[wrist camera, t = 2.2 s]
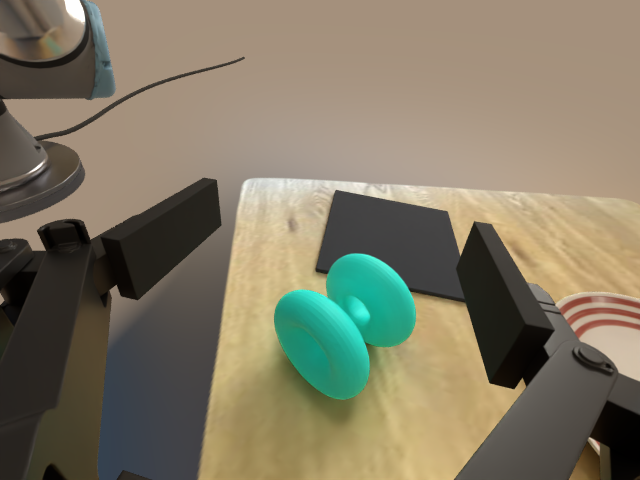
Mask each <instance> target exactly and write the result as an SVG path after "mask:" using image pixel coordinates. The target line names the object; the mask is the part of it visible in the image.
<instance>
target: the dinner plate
mask: <svg viewBox="0 0 640 480" xmlns="http://www.w3.org/2000/svg"><path fill="white" fill-rule="evenodd" d="M556 306H557V307H558V309H559V310H560V312H561V315H563V316H564V317H565V319H566V320H567V322H568V323H569V325H570V326H571V328H572V329H573V331H574V332H575V334H576V335H577V337H578V338H579V340H580V341H581V342H584V343H586V344H588V345H590V346H592V347H594V348H596V349H598V350H599V351H601V352H602V353H604V354H605V355H606V356H607V357H608V358H609V359H610V360H611V361H612V362H614V364H615V366H616V367H617V369H618V372H619V373H621V374H623V375H626V376H628V377H630V378H633V379H635V380H638V381H640V299H638V298H634V297H630V296H625V295H620V294H615V293H608V292H582V293H576V294H572V295H569V296H567V297H565V298H563V299H561V300H560V301H558V302H557V303H556ZM588 442H589V443H590V444H591V446H592V447H593V448H594V450H595V451H596V452H597V454H598V455H599V456H600V442H598V441H596V440H594V439H592V438H590V437H589V438H588Z"/></svg>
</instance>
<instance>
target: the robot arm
mask: <svg viewBox="0 0 640 480" xmlns="http://www.w3.org/2000/svg"><path fill="white" fill-rule="evenodd" d="M243 59H244V57H242V58H240V59H237V60H235V61H231V62H228V63H225V64H221V65H217V66H213V67H210V68H206V69H201V70H198V71H193V72H189V73H185V74H182V75H178V76H175V77H171V78H168V79H165V80H162V81H159V82H157V83H153V84H151V85H148V86H146V87H144V88H141V89H139V90H137V91H135V92H133V93H131V94H129V95H127V96H125V97H123V98H121V99H120V100H118V101H116V102H114V103H113V104H111V105H109V106H108V107H106V108H105V109H103V110H102V111H100V112H99V113H97V114H96V115H94V116H93V117H91V118H89V119H88V120H86V121H84V122H82V123H81V124H79V125H77V126H74V127H72V128H70V129H67V130H64V131H60V132H55V133H49V134H44V135H40V136H36V137H33V136H32V135H31V134H30V133H29V132H27V130H26V129H25V128H24V127H22V125H21V124H19V123H18V121H17V120H15V118H14V117H13V116H12V115H11V114H10V113H9V111H8V110H7V108H6V106H5V104H4V102H3V101H2V99H61V98H62V99H63V98H64V99H67V98H68V99H69V98H70V99H71V98H85V99H87V100H92V99H94V98H107V97H110V96H112V95H113V94H114V93H115V90H116V88H115V81H114V75H113V70H112V66H111V62H110V57H109V51H108V46H107V41H106V37H105V32H104V27H103V23H102V18H101V15H100V11H99V9H98V7H97V5H95V3H93V2H90V1H86V0H0V192H3V191H6V190H10V189H13V188H16V187H19V186H21V185H24V184H26V183H28V182H31V181H33V180H34V179H36V178H38V177H39V176H41V175H42V174H44V173H45V172H46V171H47V170H48V168H49V167H50V164H51V161H50V158H49V156H48V154H47V153H46V151H45V149H44V148H43V147H42V146H41V144H40V143H38V142H37V141H40V140H44V139H48V138H52V137H58V136H63V135H66V134H69V133H71V132H74V131H77V130H79V129H81V128H82V127H84V126H86V125H88V124H89V123H91V122H93V121H94V120H96V119H98V118H99V117H100V116H102V115H103V114H104V113H106V112H108V111H109V110H111V109H112V108H114V107H115V106H117V105H118V104H120V103H122V102H123V101H125V100H127V99H129V98H131V97H133V96H135V95H136V94H138V93H141V92H143V91H145V90H147V89H150V88H152V87H154V86H157V85H160V84H163V83H165V82H168V81H171V80H175V79H178V78H181V77H185V76H188V75H192V74H196V73H200V72H204V71H208V70H211V69H215V68H219V67H223V66H226V65H230V64H233V63H236V62H238V61H241V60H243ZM220 226H221V216H220V206H219V197H218V187H217V180H215V179H208V178H202V179H201V180H199V181H197V182H195V183H194V184H192V185H190V186H188V187H187V188H185V189H183V190H182V191H180V192H178V193H176V194H174V195H173V196H171V197H169V198H167V199H165V200H164V201H162V202H160V203H158V204H157V205H155V206H153V207H152V208H150V209H148V210H146V211H144V212H143V213H141V214H139V215H135V216H132V217H131V218H129V219H127V220H125V221H124V222H123V223H120V224H118V225H116V226H115V227H113V228H111V229H109V230H107V231H106V232H104V233H102V234H100V235H98V236H97V237H95V238H93V239H91V240H90V237H89V235H88V232H87V229H86V227H85V224H84V222H83V221H81V220H77V219H65V220H58V221H54V222H51V223H48V224H46V225H44V226H42V227H40V228H39V229H38V230H37V232H38V234H39V236H40V239H41V241H42V243H43V245H44V247H45V249H46V251H32V249H31V247H30V245H29V243H28V242H27V240H24V239H4V240H2V241H0V293H1V295H2V297H3V298H4V300H5V301H4V302H3V303H2V304H1V305H0V480H99V477H98V470H97V459H98V448H99V437H100V425H101V414H102V401H103V391H104V379H105V367H106V356H107V345H108V333H109V322H110V311H111V299H112V297H111V294H110V291H109V290H110V289H111V288H113V287H114V286H115V285H117V287H118V289H119V292H120V295H121V296H122V297H126V298H130V299H135V300H139V299H140V298H141V297H142V296H143V295H144V294H145V293H146V292H147V291H149V290H150V289H151V288H152V287H153V286H154V285H155V284H156V283H157V282H159V281H160V280H161V279H162V278H163V277H164V276H165V275H167V274H168V273H169V272H170V271H171V270H172V269H173V268H174V267H175V266H176V265H178V264H179V263H180V262H181V261H182V260H183V259H184V258H185V257H187V256H188V255H189V254H190V253H191V252H192V251H193V250H194V249H195V248H197V247H198V246H199V245H200V244H201V243H202V242H203V241H204V240H206V239H207V237H209V236H210V235H211V234H212V233H213V232H214V231H216V230H217V229H218V228H219V227H220ZM456 271H457V274H458V278H459V281H460V284H461V288H462V291H463V295H464V298H465V302H466V305H467V308H468V312H469V315H470V319H471V322H472V325H473V329H474V332H475V336H476V339H477V342H478V346H479V349H480V353H481V356H482V360H483V363H484V366H485V370H486V373H487V377H488V380H489V383H490V384H494V385H499V386H503V387H507V388H511V389H515V388H516V386H517V385H518V383H519V382H520V380H521V379H522V377H523V380H524V382H525V385H526V388H525V390H524V391H523V392H522V394H521V395H520V396H519V397H518V399H517V400H516V401H515V402H514V404H513V405H512V406H511V408H510V409H509V410H508V411H507V413H506V414H505V415H504V416H503V418H502V419H501V420H500V422H499V423H498V424H497V425H496V427H495V428H494V429H493V430H492V432H491V433H490V434H489V436H488V437H487V438H486V439H485V441H484V442H483V443H482V444H481V446H480V447H479V448H478V450H477V451H476V452H475V453H474V455H473V456H472V457H471V458H470V460H469V461H468V462H467V464H466V465H465V466H464V467H463V469H462V470H461V471H460V472H459V474H458V475H457V476H456V478H455V479H454V480H569V478H570V476H571V474H572V472H573V469H574V467H575V465H576V463H577V461H578V459H579V457H580V455H581V453H582V451H583V449H584V447H585V445H586V443H587V441H588V438H589V437H590V438H592V439H594V440H596V441H598V442H600V480H640V381H638V380H635V379H633V378H630V377H628V376H626V375H623V374H621V373H619V372H618V369H617V367H616V366H615V364H614V362H612V361H611V360H610V359H609V358H608V357H607V356H606V355H605V354H604V353H602V352H601V351H599V350H598V349H596V348H594V347H592V346H590V345H588V344H586V343H584V342H581V341H580V340H579V338H578V337H577V335H576V334H575V332H574V331H573V329H572V328H571V326H570V325H569V323H568V322H567V320H566V319H565V317H564V316H563V315H561V312H560V310H559V309H558V307H557V306H556V304H555V303H554V301H553V300H552V298H551V297H550V295H549V294H548V293H547V292H546V291H544V290H543V289H542V288H541V287H540V286H538V285H537V284H532V283H527V282H526V281H525V279H524V277H523V276H522V274H521V272H520V271H519V269H518V267H517V266H516V264H515V262H514V261H513V259H512V257H511V256H510V254H509V252H508V251H507V249H506V247H505V246H504V244H503V242H502V241H501V239H500V238H499V236H498V234H497V233H496V231H495V229H494V228H493V226H492V224H487V223H481V222H475V221H474V223H473V226H472V228H471V231H470V234H469V236H468V239H467V241H466V244H465V246H464V249H463V252H462V254H461V257H460V259H459V262H458V264H457V267H456ZM117 480H151V479H148V478H145V477H142V476H139V475H136V474H133V473H130V472H127V471H124V470H123V471H122V472H121V474H120V475H119V477H118V478H117Z"/></svg>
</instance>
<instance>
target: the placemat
mask: <svg viewBox="0 0 640 480" xmlns="http://www.w3.org/2000/svg"><path fill="white" fill-rule="evenodd" d="M355 253H356V254H366V255H370V256H372V257H375V258H377V259H379V260H381V261H382V262H384V263H385V264H387V265H388V266H389V267H391V268H392V269H393V270H394V271H395V272H396V273H397V274H398V275H399V276H400V277H401V279H402V280H403V281H404V283H405V284H406V286H407V287H408V289H409V291H413V292H418V293H423V294H428V295H432V296H437V297H442V298H447V299H452V300H457V301H461V302H465V298H464V295H463V291H462V288H461V284H460V281H459V278H458V274H457V271H456V267H457V264H458V262H459V259H460V253H459V250H458V246H457V243H456V239H455V236H454V232H453V229H452V225H451V222H450V218H449V215H448V212H447V211H443V210H437V209H432V208H427V207H422V206H416V205H411V204H406V203H401V202H396V201H390V200H385V199H380V198H375V197H370V196H364V195H359V194H354V193H349V192H344V191H338V190H336V191H335V195H334V199H333V203H332V207H331V211H330V215H329V219H328V223H327V227H326V231H325V235H324V239H323V243H322V247H321V251H320V255H319V259H318V263H317V267H316V272H321V273H326V274H328V272H329V270H330V268H331V266H332V265H333V264H334V263H335V262H336V261H337V260H338V259H339V258H341V257H343V256H345V255H349V254H355Z"/></svg>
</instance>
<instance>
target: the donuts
mask: <svg viewBox="0 0 640 480" xmlns="http://www.w3.org/2000/svg"><path fill="white" fill-rule="evenodd" d="M326 289H327V296H328V298H327V297H325V296H324V295H322V294H319V293H317V292H314V291H310V290H295V291H292V292H289V293H287V294H286V295H284V296H283V297H282V298H281V299H280V301H279V302H278V304H277V306H276V309H275V314H274V324H275V330H276V333H277V336H278V339H279V342H280V344H281V346H282V348H283V350H284V352H285V353H286V355H287V357H288V358H289V360H290V361H291V363H292V364H293V366H294V367H295V368H296V369H297V371H298V372H299V373H300V374H301V375H302V377H303V378H304V379H305V380H306V381H307V382H308V383H310V384H311V385H312V386H313V387H314V388H316V389H317V390H318V391H320V392H321V393H323V394H325V395H327V396H329V397H331V398H335V399H341V400H345V399H350V398H353V397H355V396H356V395H358V394H359V393H360V392H361V391H362V390H363V389H364V387H365V385H366V384H367V381H368V377H369V372H370V362H369V356H368V351H367V348H366V345H365V342H366V343H368V344H371V345H374V346H378V347H392V346H396V345H399V344H401V343H402V342H404V341H405V340H406V339H407V338H408V337H409V336H410V335H411V333H412V331H413V329H414V326H415V322H416V309H415V304H414V300H413V298H412V295H411V293H410V291H409V289H408V287H407V286H406V284H405V283H404V281H403V280H402V279H401V277H400V276H399V275H398V274H397V273H396V272H395V271H394V270H393V269H392V268H391V267H389V266H388V265H387V264H385V263H384V262H382V261H381V260H379V259H377V258H375V257H372V256H370V255H366V254H356V253H355V254H349V255H345V256H343V257H341V258H339V259H338V260H337V261H336V262H335V263H334V264H333V265H332V266H331V268H330V270H329V272H328V276H327V281H326Z"/></svg>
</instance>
